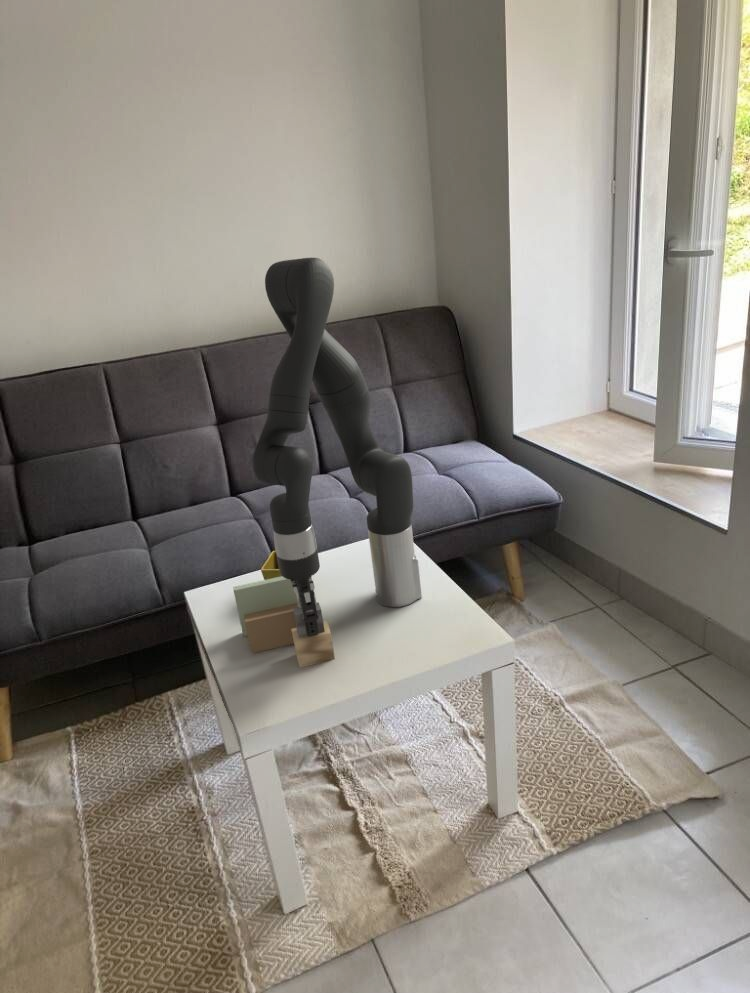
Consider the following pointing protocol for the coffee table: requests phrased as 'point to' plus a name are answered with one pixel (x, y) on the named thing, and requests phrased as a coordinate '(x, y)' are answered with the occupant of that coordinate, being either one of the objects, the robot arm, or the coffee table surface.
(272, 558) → the flower pot
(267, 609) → the wall board
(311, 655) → the cabinet block
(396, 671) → the coffee table surface
